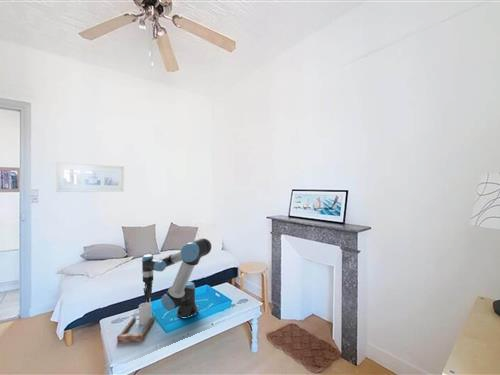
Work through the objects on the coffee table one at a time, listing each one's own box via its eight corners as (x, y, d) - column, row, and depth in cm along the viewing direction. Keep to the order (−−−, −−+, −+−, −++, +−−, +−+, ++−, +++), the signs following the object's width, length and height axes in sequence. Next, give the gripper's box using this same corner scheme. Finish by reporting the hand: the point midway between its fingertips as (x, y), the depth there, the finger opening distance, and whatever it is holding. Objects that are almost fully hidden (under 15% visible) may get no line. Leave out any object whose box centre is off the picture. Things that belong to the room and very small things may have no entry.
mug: (134, 327, 173) (133, 310, 172) (133, 321, 180) (133, 305, 180) (152, 322, 179) (152, 306, 178) (151, 317, 186) (150, 301, 186)
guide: (154, 320, 182) (154, 314, 182) (142, 341, 158) (141, 335, 158) (133, 321, 181) (133, 315, 181) (117, 342, 157) (117, 336, 157)
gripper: (146, 272, 197) (146, 302, 198) (139, 279, 184) (140, 311, 185) (155, 272, 197) (156, 302, 198) (150, 279, 184) (150, 310, 185)
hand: (148, 306), depth 191 cm, fingers closed
